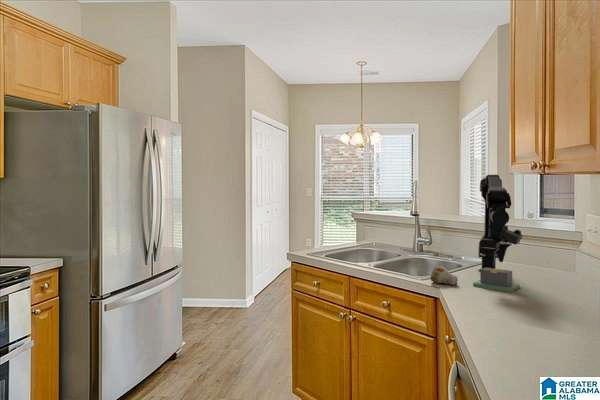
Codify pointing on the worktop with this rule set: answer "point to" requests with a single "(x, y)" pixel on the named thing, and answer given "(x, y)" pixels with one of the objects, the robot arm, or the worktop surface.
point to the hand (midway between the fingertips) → (496, 263)
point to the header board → (497, 286)
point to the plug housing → (496, 276)
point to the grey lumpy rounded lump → (443, 276)
